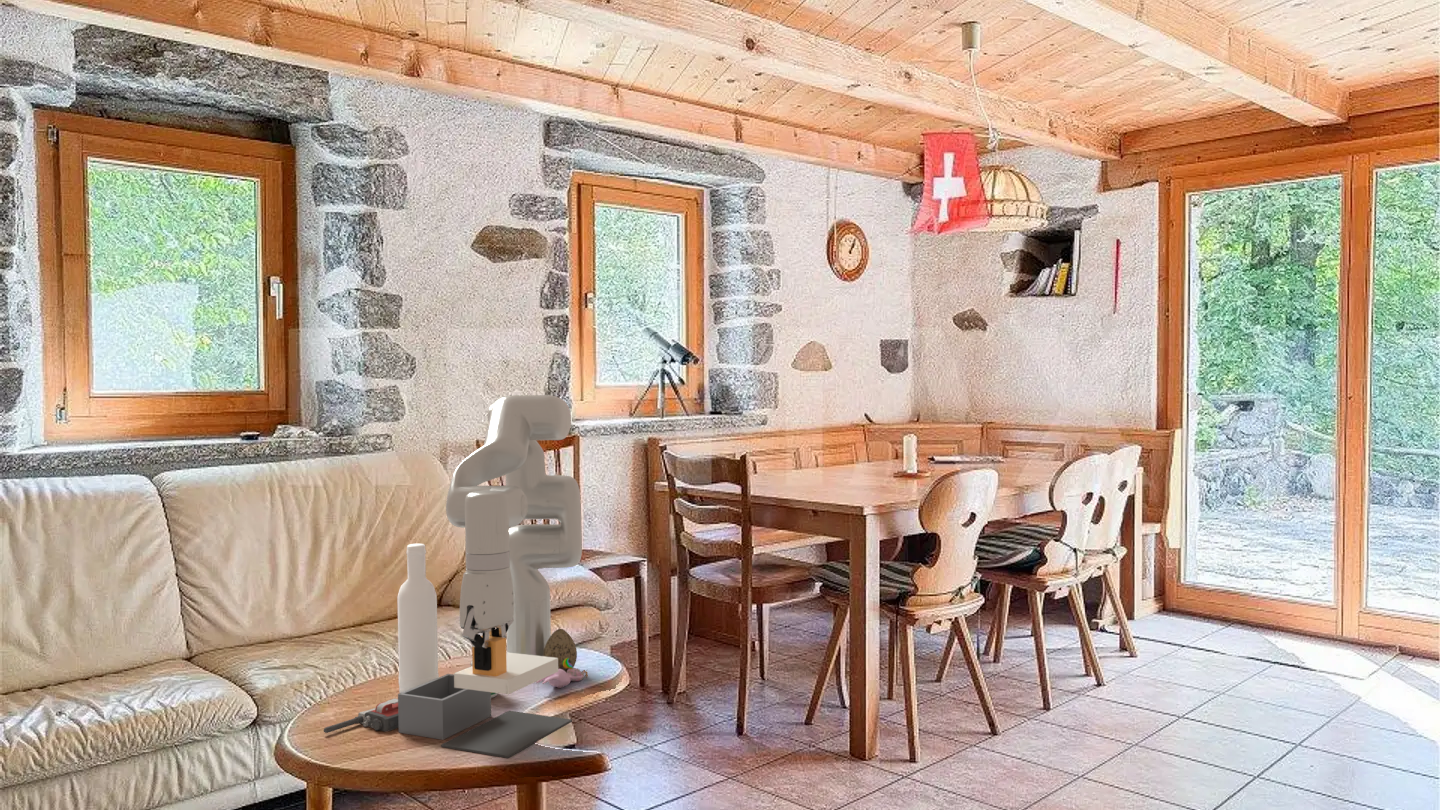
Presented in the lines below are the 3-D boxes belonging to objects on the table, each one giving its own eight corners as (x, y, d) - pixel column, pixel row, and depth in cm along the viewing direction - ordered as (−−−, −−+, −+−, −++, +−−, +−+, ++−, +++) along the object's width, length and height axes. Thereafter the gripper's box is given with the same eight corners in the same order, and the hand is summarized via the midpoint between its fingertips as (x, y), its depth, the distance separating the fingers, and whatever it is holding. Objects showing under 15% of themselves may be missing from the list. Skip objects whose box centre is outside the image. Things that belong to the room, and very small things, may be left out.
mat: (509, 712, 200) (509, 710, 200) (572, 721, 194) (572, 719, 194) (441, 746, 182) (441, 744, 182) (507, 758, 176) (507, 755, 176)
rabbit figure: (569, 682, 224) (526, 689, 211) (571, 654, 225) (528, 659, 212) (593, 685, 222) (551, 693, 208) (595, 657, 222) (553, 662, 209)
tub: (448, 709, 202) (448, 673, 202) (491, 716, 198) (490, 679, 198) (398, 732, 189) (397, 694, 189) (443, 739, 185) (442, 700, 185)
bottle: (432, 695, 211) (429, 547, 210) (393, 696, 211) (390, 548, 210) (443, 684, 219) (440, 541, 218) (406, 684, 219) (403, 541, 218)
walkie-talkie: (411, 707, 205) (320, 737, 189) (410, 685, 205) (320, 712, 189) (441, 715, 200) (350, 746, 184) (440, 692, 200) (349, 721, 183)
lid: (506, 665, 197) (506, 620, 197) (558, 671, 192) (557, 625, 192) (454, 687, 183) (453, 638, 183) (508, 694, 178) (507, 644, 178)
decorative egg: (541, 671, 227) (541, 625, 227) (573, 668, 229) (574, 623, 229) (545, 681, 220) (545, 634, 220) (579, 678, 222) (579, 632, 222)
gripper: (498, 553, 191) (499, 653, 192) (439, 568, 176) (441, 676, 177) (532, 556, 188) (534, 657, 189) (476, 571, 173) (478, 681, 174)
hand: (489, 666), depth 183 cm, fingers closed on lid, 3 cm apart
